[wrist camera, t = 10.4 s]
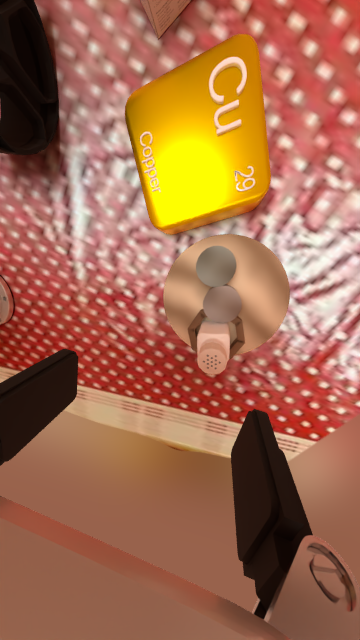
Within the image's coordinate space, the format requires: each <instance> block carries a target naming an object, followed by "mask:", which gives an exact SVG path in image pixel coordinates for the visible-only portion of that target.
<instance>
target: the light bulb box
mask: <svg viewBox="0 0 360 640" xmlns="http://www.w3.org/2000/svg"><path fill="white" fill-rule="evenodd" d="M140 1H141V3H142V5H143V7H144V9H145V12H146V14H147V16H148V18H149V20H150V22H151V25H152V27H153V29H154V31H155V33H156V35H157V38H158V39H159V38H160V36H161V35H162V34H163V33H164V32H165V31H166V29H167V28H168V27H169V26H170V25H171V24H172V22H173V21H174V20H175V19H176V18H177V17H178V15H179V14H180V13H181V12H182V11H183V9H184V8H185V7H186V6H187V5H188V4H189V3H190V1H191V0H140Z"/></svg>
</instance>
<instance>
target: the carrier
mask: <svg viewBox="0 0 360 640" xmlns="http://www.w3.org/2000/svg"><path fill="white" fill-rule="evenodd" d="M289 296H290V289H289V282H288V278H287V275H286V272H285V270H284V268H283V266H282V264H281V262H280V261H279V259H278V258H277V257H276V256H275V254H274V253H273V252H272V251H271V250H270V249H268V248H267V247H266V246H264V245H263V244H261V243H260V242H258V241H256V240H254V239H251V238H248V237H245V236H240V235H232V234H225V235H217V236H211V237H209V238H206V239H203V240H201V241H199V242H197V243H195V244H193V245H192V246H190V247H189V248H188V249H186V250H185V251H184V252H183V253H182V254H181V255H180V256H179V257H178V258H177V260H176V261H175V262H174V264H173V265H172V267H171V269H170V271H169V273H168V276H167V278H166V281H165V286H164V295H163V299H164V308H165V312H166V316H167V318H168V321H169V323H170V325H171V327H172V328H173V330H174V331H175V332H176V334H177V335H178V336H179V337H180V338H181V339H182V340H183V341H184V342H185V343H187V344H188V345H189V346H191V348H192V349H193V350H194V351H196V352H197V336H198V333H199V330H200V327H201V324H202V322H203V321H205V320H206V321H214V322H217V323H228V326H229V334H230V353H229V359H231V358H232V357H233V356H234V355H239V354H243V353H246V352H249V351H251V350H253V349H255V348H257V347H259V346H261V345H262V344H263V343H265V342H266V341H267V340H268V339H269V338H270V337H272V336H273V334H274V333H275V332H276V331H277V330H278V328H279V327H280V325H281V323H282V322H283V319H284V317H285V315H286V312H287V309H288V304H289Z"/></svg>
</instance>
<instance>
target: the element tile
mask: <svg viewBox="0 0 360 640" xmlns="http://www.w3.org/2000/svg"><path fill="white" fill-rule="evenodd" d="M125 119H126V124H127V129H128V133H129V137H130V141H131V145H132V149H133V153H134V157H135V161H136V165H137V169H138V173H139V178H140V182H141V186H142V190H143V194H144V198H145V202H146V206H147V210H148V214H149V218H150V220H151V222H152V224H153V225H154V227H156V228H157V229H159V230H160V231H162V232H164V233H166V234H170V235H172V234H177V233H180V232H183V231H187V230H190V229H193V228H197V227H200V226H203V225H207V224H210V223H213V222H217V221H220V220H223V219H226V218H230V217H233V216H236V215H240V214H243V213H246V212H250V211H252V210H253V209H255V208H256V207H257V206H258V205H259V204H260V202H261V201H262V199H263V198H264V196H265V194H266V193H267V191H268V189H269V186H270V181H271V173H270V163H269V152H268V142H267V132H266V121H265V111H264V101H263V90H262V80H261V69H260V59H259V51H258V47H257V44H256V42H255V40H254V39H253V37H251V36H250V35H248V34H237V35H234V36H232V37H231V38H229V39H227V40H225V41H223V42H222V43H220V44H218V45H216V46H214V47H213V48H211V49H209V50H207V51H205V52H204V53H202V54H200V55H198V56H196V57H195V58H193V59H191V60H189V61H187V62H186V63H184V64H182V65H180V66H178V67H177V68H175V69H173V70H171V71H169V72H168V73H166V74H164V75H162V76H160V77H159V78H157V79H155V80H153V81H151V82H150V83H148V84H146V85H144V86H142V87H141V88H139V89H137V90H136V91H134V92H133V93H132V94H131V96H130V97H129V98H128V100H127V103H126V106H125Z"/></svg>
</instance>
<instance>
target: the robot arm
mask: <svg viewBox="0 0 360 640" xmlns="http://www.w3.org/2000/svg"><path fill="white" fill-rule="evenodd" d="M13 308H14V304H13V298H12V294H11V292H10V289H9V287H8V286H7V284H6V282H5V281H4V280H3V278H2V277H1V276H0V324H4V323H6V322H8V320H9V319H10V318H11V316H12V314H13ZM77 375H78V356H77V355H76V352H74V351H71V350H68V349H62V350H60V351H58V352H57V353H55V354H53V355H51V356H49V357H47V358H46V359H44V360H42V361H40V362H38V363H36V364H35V365H33V366H31V367H29V368H27V369H25V370H24V371H22V372H20V373H18V374H16V375H14V376H12V377H11V378H9V379H7V380H5V381H3V382H1V383H0V465H2V464H3V463H4V462H5V461H9V460H10V459H12V458H13V457H14V456H15V455H16V454H17V453H18V452H19V451H20V450H21V449H22V448H23V447H25V446H26V445H27V444H28V443H29V442H30V441H31V440H32V439H33V438H34V437H35V436H36V435H37V434H38V433H39V432H41V431H42V429H44V428H45V427H46V426H47V425H48V424H49V423H50V422H51V421H52V420H53V419H54V418H55V417H57V416H58V414H60V412H62V411H63V410H64V409H65V408H66V407H67V406H68V405H69V404H70V403H71V402H72V401H73V400H74V399H75V397H76V395H77ZM231 464H232V477H233V491H234V505H235V506H234V507H235V522H236V536H237V549H238V557H239V560H240V561H242V562H243V569H244V576H247V577H249V578H251V579H254V580H255V587H256V594H257V596H258V600H257V602H256V604H255V606H254V608H253V610H252V612H249V611H247V610H245V609H244V608H242V607H240V606H238V605H237V604H235V603H233V602H230V601H228V600H226V599H224V598H222V597H220V596H218V595H216V594H214V593H212V592H210V591H208V590H206V589H203V588H202V587H200V586H198V585H196V584H193V583H191V582H189V581H187V580H185V579H183V578H181V577H179V576H176V575H174V574H172V573H170V572H168V571H166V570H163V569H161V568H159V567H157V566H155V565H153V564H150V563H148V562H146V561H144V560H142V559H139V558H137V557H135V556H133V555H131V554H129V553H126V552H124V551H122V550H120V549H118V548H115V547H113V546H111V545H109V544H107V543H104V542H102V541H100V540H98V539H95V538H93V537H91V536H89V535H87V534H84V533H82V532H80V531H78V530H76V529H73V528H71V527H69V526H67V525H64V524H62V523H60V522H58V521H55V520H53V519H51V518H49V517H46V516H44V515H42V514H40V513H38V512H35V511H33V510H31V509H29V508H26V507H24V506H22V505H20V504H17V503H15V502H13V501H11V500H8V499H6V498H4V497H2V496H0V640H360V588H359V586H358V584H357V582H356V579H355V577H354V575H353V574H352V572H351V571H350V569H349V567H348V566H347V564H346V563H345V561H344V560H343V559H342V558H341V556H340V555H339V554H338V553H337V552H336V551H335V550H334V549H333V548H332V547H331V546H330V545H329V544H328V543H327V542H325V541H324V540H322V539H320V538H319V537H316V536H313V534H312V531H311V529H310V526H309V523H308V520H307V517H306V514H305V511H304V509H303V506H302V503H301V500H300V497H299V494H298V492H297V489H296V486H295V483H294V480H293V477H292V474H291V472H290V469H289V466H288V463H287V460H286V457H285V455H284V453H283V451H282V450H281V449H279V447H278V444H277V441H276V438H275V435H274V432H273V429H272V426H271V423H270V420H269V417H268V414H267V413H265V412H262V411H259V410H256V409H254V410H253V411H249V412H248V414H247V416H246V418H245V421H244V423H243V425H242V428H241V430H240V432H239V434H238V437H237V439H236V441H235V443H234V446H233V448H232V452H231Z"/></svg>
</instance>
